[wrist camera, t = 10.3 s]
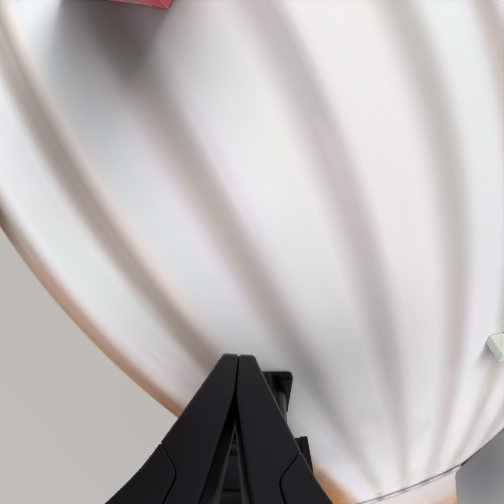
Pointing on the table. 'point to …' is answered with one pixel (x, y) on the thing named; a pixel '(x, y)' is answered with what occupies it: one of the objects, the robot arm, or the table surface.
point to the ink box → (149, 2)
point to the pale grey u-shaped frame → (497, 346)
